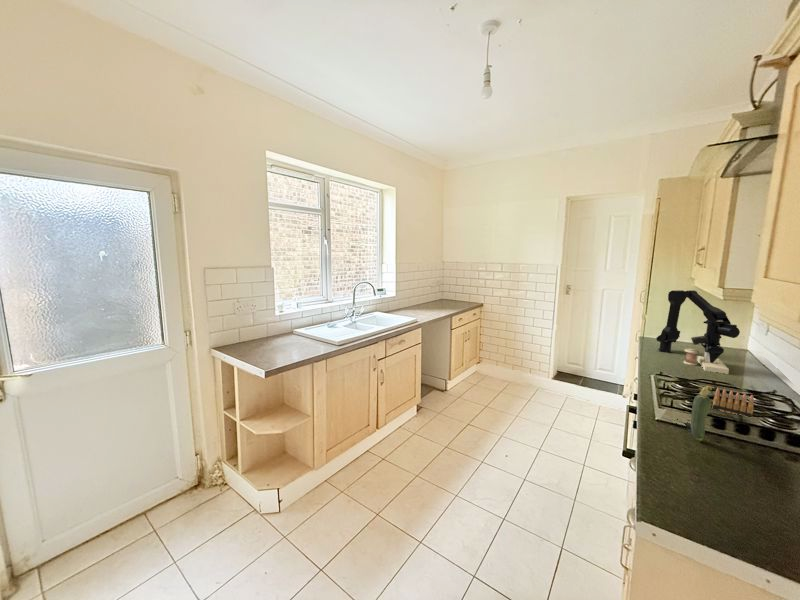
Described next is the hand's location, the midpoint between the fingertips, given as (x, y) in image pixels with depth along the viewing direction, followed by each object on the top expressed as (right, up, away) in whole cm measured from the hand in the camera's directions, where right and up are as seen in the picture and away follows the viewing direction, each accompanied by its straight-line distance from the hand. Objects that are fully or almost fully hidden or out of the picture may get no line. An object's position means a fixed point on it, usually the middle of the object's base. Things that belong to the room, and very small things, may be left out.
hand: (709, 360), depth 177 cm
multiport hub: (-67, -14, -57) cm, 89 cm away
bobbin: (-6, -3, +5) cm, 8 cm away
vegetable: (-70, -15, -67) cm, 98 cm away
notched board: (+1, -4, 0) cm, 4 cm away
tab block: (0, -3, 0) cm, 3 cm away
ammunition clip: (-46, -13, -56) cm, 73 cm away
